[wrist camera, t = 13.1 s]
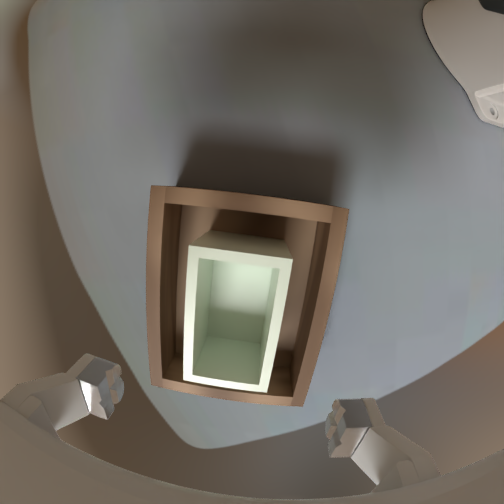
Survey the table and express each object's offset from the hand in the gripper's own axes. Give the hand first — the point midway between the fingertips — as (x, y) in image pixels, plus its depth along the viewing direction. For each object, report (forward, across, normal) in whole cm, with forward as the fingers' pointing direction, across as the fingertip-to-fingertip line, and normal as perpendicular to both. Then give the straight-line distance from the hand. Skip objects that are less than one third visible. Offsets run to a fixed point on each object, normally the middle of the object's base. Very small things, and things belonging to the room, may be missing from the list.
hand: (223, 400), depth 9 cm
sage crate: (+12, +1, +1) cm, 13 cm away
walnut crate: (+14, +1, +1) cm, 14 cm away
